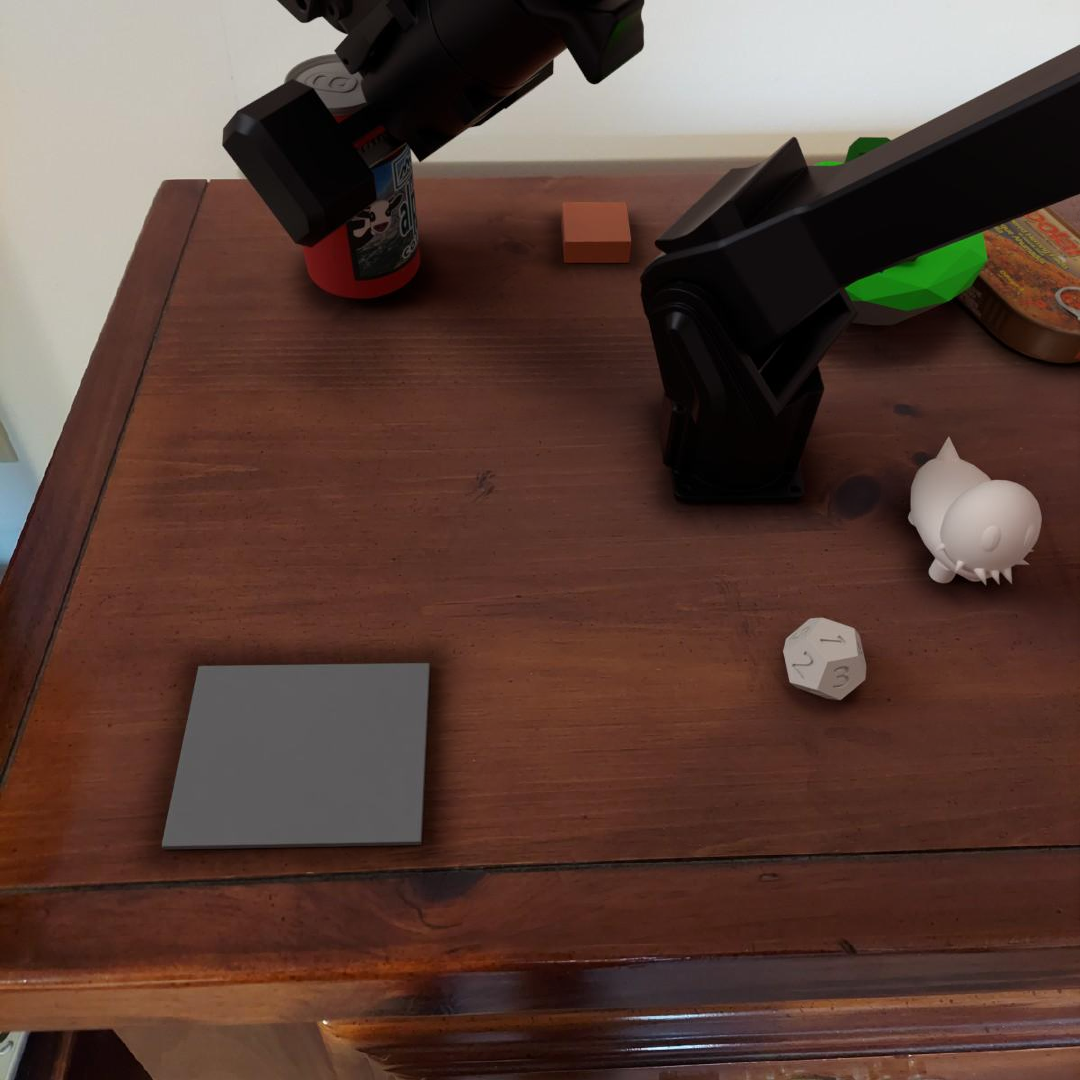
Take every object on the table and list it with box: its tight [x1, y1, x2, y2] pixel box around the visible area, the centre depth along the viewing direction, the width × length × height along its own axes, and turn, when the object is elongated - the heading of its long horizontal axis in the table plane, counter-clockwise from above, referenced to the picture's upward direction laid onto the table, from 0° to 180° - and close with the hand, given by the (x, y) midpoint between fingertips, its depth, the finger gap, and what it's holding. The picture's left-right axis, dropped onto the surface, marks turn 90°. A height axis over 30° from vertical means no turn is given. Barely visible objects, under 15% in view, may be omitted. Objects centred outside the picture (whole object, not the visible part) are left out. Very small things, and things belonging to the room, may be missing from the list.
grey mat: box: [161, 662, 431, 851], centre depth 42 cm, size 10×8×1 cm
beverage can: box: [283, 53, 421, 300], centre depth 56 cm, size 7×7×12 cm
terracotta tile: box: [561, 201, 632, 264], centre depth 62 cm, size 4×4×2 cm
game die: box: [782, 617, 867, 701], centre depth 43 cm, size 4×4×3 cm
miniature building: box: [812, 136, 987, 326], centre depth 55 cm, size 12×12×11 cm
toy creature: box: [907, 436, 1043, 586], centre depth 46 cm, size 5×8×6 cm, turn 4°
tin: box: [955, 206, 1080, 364], centre depth 60 cm, size 15×3×8 cm
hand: (332, 165), depth 56 cm, fingers open, 8 cm apart
